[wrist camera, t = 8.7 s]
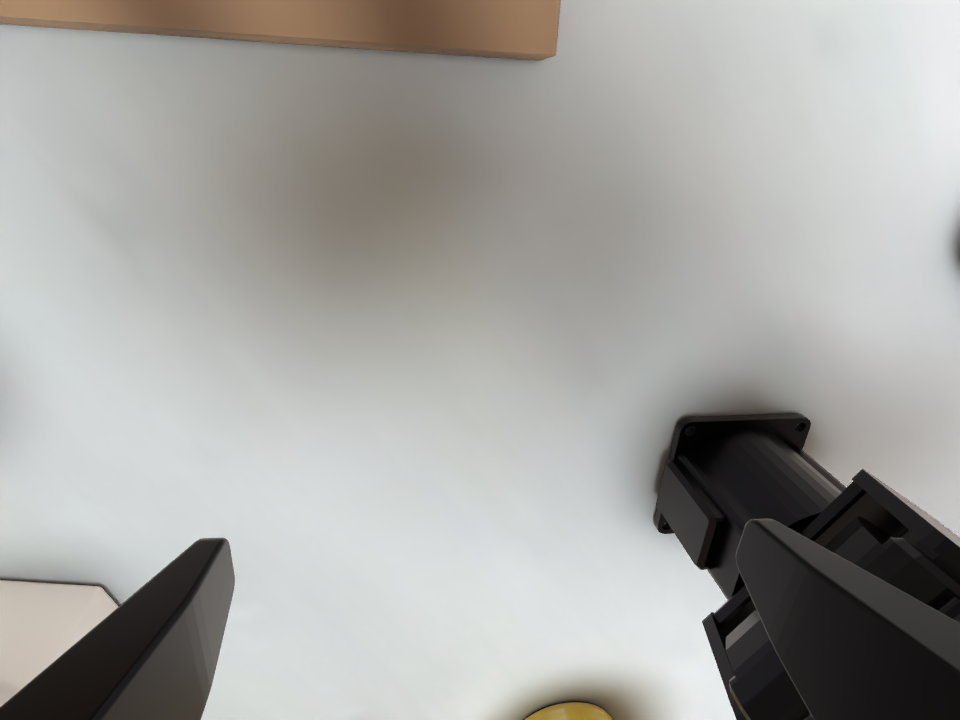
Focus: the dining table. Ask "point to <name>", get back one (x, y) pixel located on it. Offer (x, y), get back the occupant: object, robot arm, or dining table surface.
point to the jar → (43, 626)
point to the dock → (319, 22)
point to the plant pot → (571, 712)
